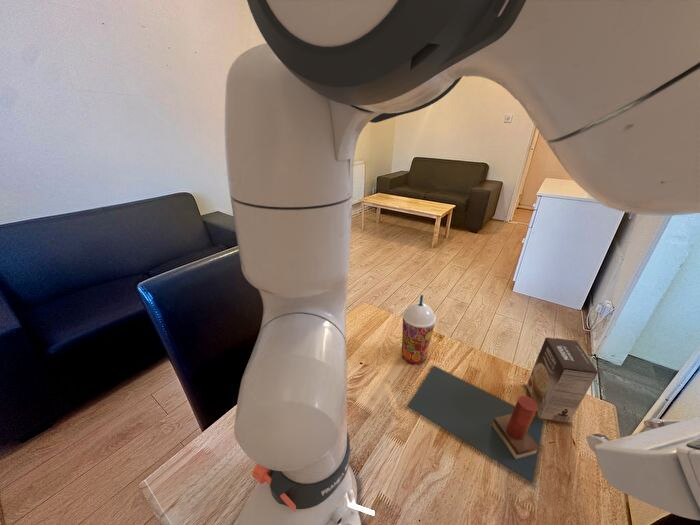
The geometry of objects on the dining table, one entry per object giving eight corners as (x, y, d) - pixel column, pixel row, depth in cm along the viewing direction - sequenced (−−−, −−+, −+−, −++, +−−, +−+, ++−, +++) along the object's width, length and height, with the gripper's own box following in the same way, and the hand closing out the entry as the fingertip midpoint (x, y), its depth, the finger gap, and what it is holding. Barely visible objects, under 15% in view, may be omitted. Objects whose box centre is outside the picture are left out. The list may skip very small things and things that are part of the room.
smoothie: (392, 355, 79) (397, 295, 70) (410, 341, 84) (417, 283, 75) (417, 372, 74) (426, 310, 65) (435, 356, 79) (446, 296, 70)
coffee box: (524, 385, 70) (544, 335, 63) (552, 390, 69) (576, 339, 62) (538, 420, 62) (563, 367, 55) (570, 425, 61) (600, 372, 54)
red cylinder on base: (535, 454, 55) (553, 417, 50) (515, 459, 54) (531, 423, 49) (510, 420, 61) (524, 385, 56) (491, 425, 61) (504, 389, 56)
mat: (531, 485, 51) (532, 483, 51) (406, 407, 65) (407, 406, 65) (542, 422, 62) (543, 420, 61) (433, 367, 75) (433, 365, 75)
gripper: (842, 409, 27) (670, 393, 40) (681, 458, 24) (548, 422, 37) (889, 485, 25) (693, 443, 38) (723, 552, 22) (567, 480, 35)
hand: (621, 433), depth 37 cm, fingers open, 8 cm apart
